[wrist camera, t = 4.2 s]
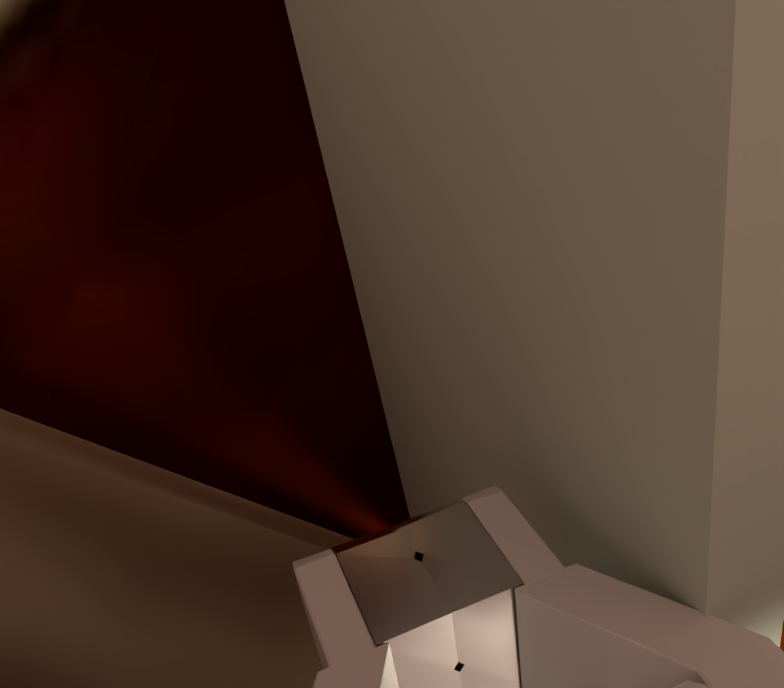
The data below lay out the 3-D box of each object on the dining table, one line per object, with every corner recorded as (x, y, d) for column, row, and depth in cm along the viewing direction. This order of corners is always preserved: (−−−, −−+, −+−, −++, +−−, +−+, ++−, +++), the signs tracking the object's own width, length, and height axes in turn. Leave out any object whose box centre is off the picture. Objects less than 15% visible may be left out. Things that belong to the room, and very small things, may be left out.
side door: (378, -101, 14) (1043, -210, 4) (486, 528, 23) (790, 949, 13) (266, -75, 13) (743, -137, 4) (419, 557, 22) (685, 1016, 13)
